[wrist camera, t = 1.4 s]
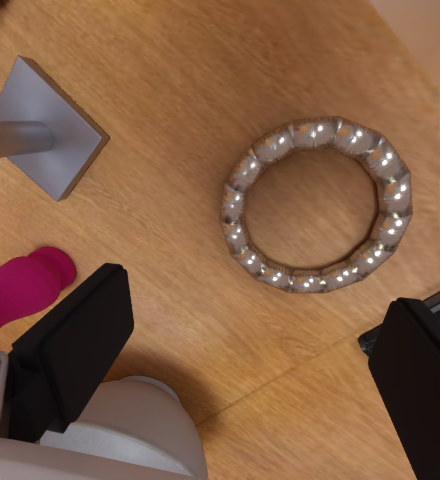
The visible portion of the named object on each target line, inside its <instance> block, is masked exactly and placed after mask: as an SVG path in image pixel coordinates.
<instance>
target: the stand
mask: <svg viewBox="0 0 440 480" xmlns="http://www.w3.org/2000/svg"><path fill="white" fill-rule="evenodd" d="M109 138H110V137H109V136H108V135H107V134H106V133H105V132H104V131H103V130H102V129H101V128H100V127H99V126H98V125H97V124H96V123H95V122H94V121H93V120H92V119H91V118H90V117H89V116H88V115H87V114H86V113H85V112H84V111H83V110H82V109H81V108H80V107H79V106H78V105H77V104H76V103H75V102H74V101H73V100H72V99H71V98H70V97H69V96H68V95H67V94H66V93H65V92H64V91H63V90H62V89H61V88H60V87H59V86H58V85H57V84H56V83H55V82H54V81H53V80H52V79H51V78H50V77H49V76H48V75H47V74H46V73H45V72H44V71H43V70H42V69H41V68H40V67H39V66H38V65H37V64H36V63H35V62H34V61H33V60H32V59H30V58H27V57H23V56H19V55H18V57H17V59H16V61H15V63H14V66H13V68H12V70H11V72H10V74H9V77H8V79H7V81H6V83H5V85H4V88H3V90H2V92H1V94H0V158H1V157H7V158H8V159H9V160H10V161H11V162H12V163H14V164H15V165H16V166H17V167H18V168H19V169H20V170H21V171H23V172H24V173H25V174H26V175H27V176H28V177H29V178H31V179H32V180H33V181H34V182H35V183H36V184H37V185H38V186H40V187H41V188H42V189H43V190H44V191H45V192H46V193H47V194H49V195H50V196H51V197H52V198H53V199H54V200H55V201H57V202H58V201H61V200H64V199H66V198H67V196H68V195H69V194H70V192H71V191H72V189H73V188H74V187H75V185H76V184H77V182H78V181H79V180H80V178H81V177H82V175H83V174H84V173H85V171H86V170H87V169H88V167H89V166H90V164H91V163H92V162H93V160H94V159H95V157H96V156H97V155H98V153H99V152H100V150H101V149H102V148H103V146H104V145H105V143H106V142H107V141H108V139H109Z"/></svg>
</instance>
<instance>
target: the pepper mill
mask: <svg viewBox="0 0 440 480" xmlns="http://www.w3.org/2000/svg"><path fill="white" fill-rule="evenodd" d="M75 275H76V270H75V266H74V264H73V262H72V261H71V260H70V258H69V257H68V256H67V255H66V254H65V253H63V252H62V251H60V250H58V249H56V248H52V247H42V248H40V249H38V250H36V251H34V252H32V253H31V254H29V255H28V256H27V257H25V256H23V257H16V258H13V259H11V260H9V261H8V262H6V263H5V264H4V265H2V266H1V267H0V328H1V327H2V326H3V325H5V324H7V323H9V322H11V321H14V320H17V319H20V318H23V317H26V316H29V315H32V314H35V313H37V312H40V311H42V310H44V309H46V308H47V307H49V306H50V305H51V304H53V303H54V302H55V301H56V300H57V298H58V296H59V294H60V291H61V290H64V289H65V288H66V287H67V286H68V285H70V284H71V283H72V282H73V281H74V279H75Z"/></svg>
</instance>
